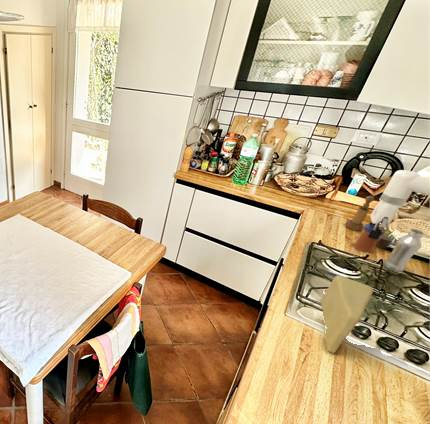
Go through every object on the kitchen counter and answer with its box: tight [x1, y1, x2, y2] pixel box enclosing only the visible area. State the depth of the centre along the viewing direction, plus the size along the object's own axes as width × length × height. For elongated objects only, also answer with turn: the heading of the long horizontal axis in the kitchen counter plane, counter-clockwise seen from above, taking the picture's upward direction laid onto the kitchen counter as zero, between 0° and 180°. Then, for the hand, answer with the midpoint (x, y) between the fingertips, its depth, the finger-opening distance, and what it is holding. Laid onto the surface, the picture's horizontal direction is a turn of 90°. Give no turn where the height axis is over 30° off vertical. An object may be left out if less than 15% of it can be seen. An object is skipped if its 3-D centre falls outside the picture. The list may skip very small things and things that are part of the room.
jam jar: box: [353, 228, 382, 253], centre depth 139 cm, size 7×7×10 cm
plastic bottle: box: [382, 228, 425, 273], centre depth 122 cm, size 6×7×20 cm
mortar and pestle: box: [344, 195, 375, 232], centre depth 154 cm, size 7×6×18 cm
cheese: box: [319, 275, 374, 354], centre depth 96 cm, size 22×10×15 cm, turn 138°
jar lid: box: [363, 223, 386, 236], centre depth 137 cm, size 7×7×2 cm
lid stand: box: [375, 234, 393, 250], centre depth 143 cm, size 5×5×4 cm
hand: (371, 234), depth 138 cm, fingers closed on jar lid, 6 cm apart
